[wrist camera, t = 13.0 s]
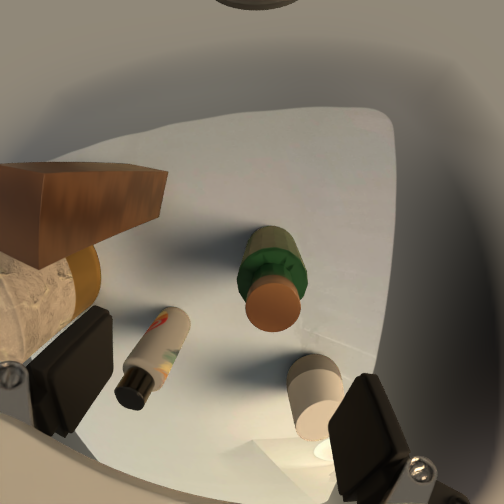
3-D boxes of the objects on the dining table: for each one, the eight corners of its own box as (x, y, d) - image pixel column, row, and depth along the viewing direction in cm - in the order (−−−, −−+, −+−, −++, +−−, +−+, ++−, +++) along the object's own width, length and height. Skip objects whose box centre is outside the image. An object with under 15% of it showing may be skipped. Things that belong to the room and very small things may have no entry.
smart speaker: (344, 374, 47) (362, 429, 33) (300, 395, 48) (307, 451, 35) (323, 339, 45) (339, 395, 32) (275, 363, 47) (277, 422, 33)
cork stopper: (255, 259, 28) (253, 276, 23) (301, 271, 28) (308, 290, 23) (244, 301, 29) (239, 325, 24) (287, 312, 29) (291, 337, 24)
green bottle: (253, 220, 41) (243, 249, 24) (301, 233, 41) (323, 270, 24) (241, 266, 43) (224, 321, 26) (287, 278, 43) (298, 339, 26)
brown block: (128, 163, 39) (-6, 164, 14) (168, 171, 39) (44, 173, 14) (120, 207, 41) (-10, 246, 16) (159, 217, 41) (38, 270, 16)
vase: (24, 266, 45) (-81, 323, 16) (53, 196, 41) (-88, 231, 12) (79, 327, 48) (-16, 420, 18) (117, 264, 44) (-20, 362, 14)
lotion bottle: (153, 315, 46) (97, 389, 26) (176, 300, 45) (124, 375, 25) (173, 340, 47) (130, 421, 27) (198, 326, 46) (160, 411, 26)
